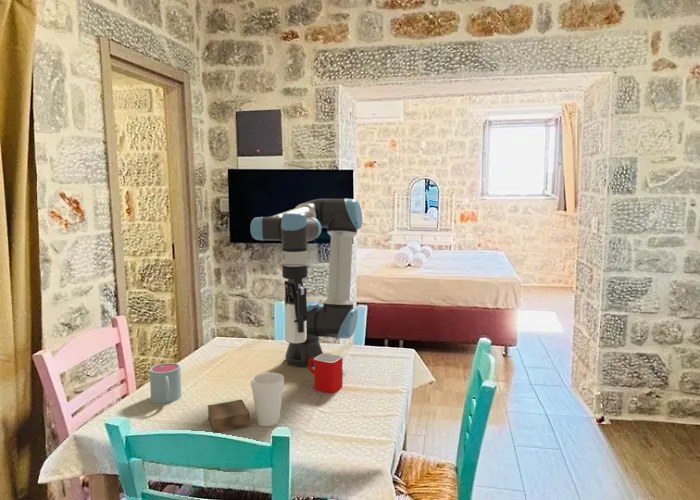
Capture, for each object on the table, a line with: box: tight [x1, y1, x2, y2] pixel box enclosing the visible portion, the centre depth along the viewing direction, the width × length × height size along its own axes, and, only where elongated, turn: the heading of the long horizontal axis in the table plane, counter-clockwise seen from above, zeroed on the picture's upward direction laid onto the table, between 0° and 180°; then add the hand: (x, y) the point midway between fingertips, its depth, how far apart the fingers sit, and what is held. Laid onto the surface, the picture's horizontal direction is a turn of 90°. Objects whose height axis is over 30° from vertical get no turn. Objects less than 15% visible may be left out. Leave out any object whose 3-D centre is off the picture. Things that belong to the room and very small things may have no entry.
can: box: [284, 301, 306, 344], centre depth 149 cm, size 6×6×12 cm
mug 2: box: [308, 352, 344, 394], centre depth 168 cm, size 12×8×11 cm
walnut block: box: [207, 399, 251, 433], centre depth 142 cm, size 10×10×4 cm
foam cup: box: [250, 371, 285, 427], centre depth 142 cm, size 10×9×13 cm
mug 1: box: [149, 362, 182, 404], centre depth 157 cm, size 14×9×10 cm
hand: (296, 338), depth 150 cm, fingers closed on can, 6 cm apart
